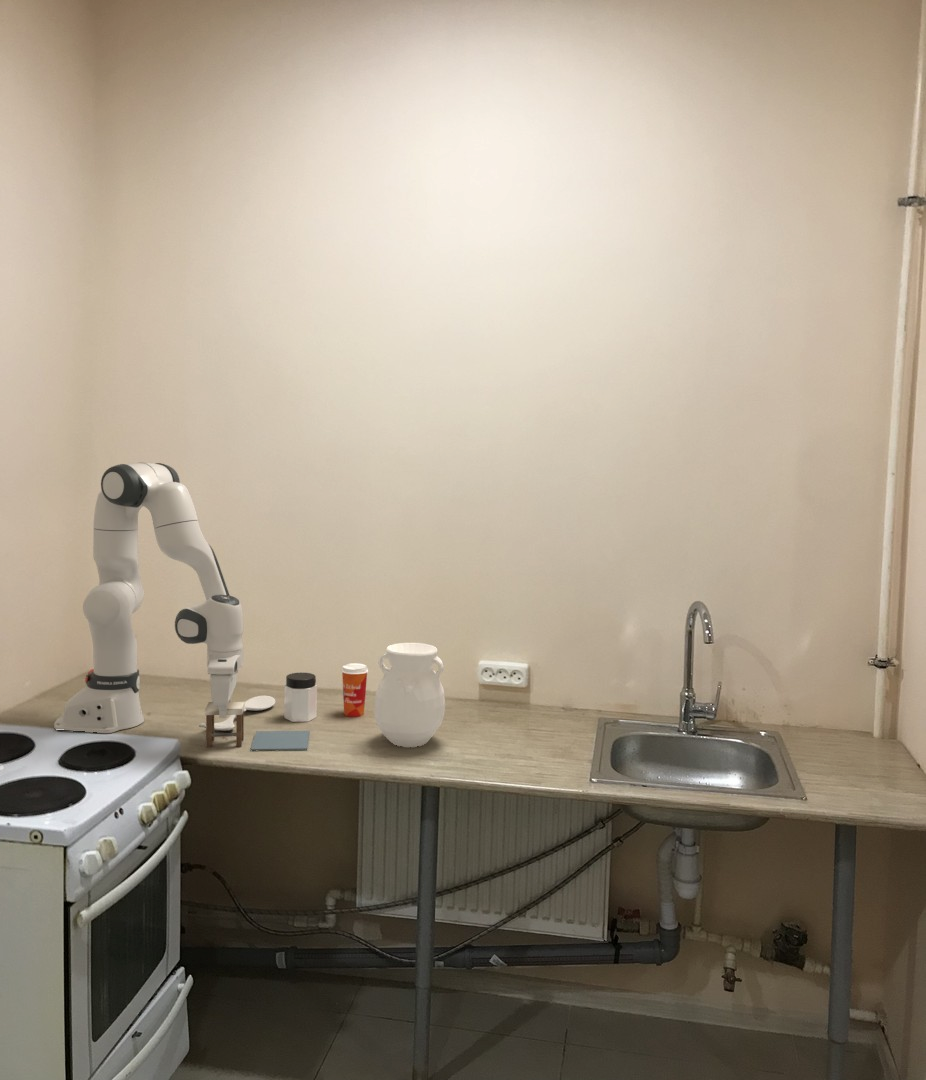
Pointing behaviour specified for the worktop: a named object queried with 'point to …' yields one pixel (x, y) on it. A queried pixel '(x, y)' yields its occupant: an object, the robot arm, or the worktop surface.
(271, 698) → the white spork
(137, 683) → the robot arm
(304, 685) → the jar
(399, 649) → the white vase
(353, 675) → the paper cup
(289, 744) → the mat
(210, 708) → the stool
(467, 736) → the worktop surface
